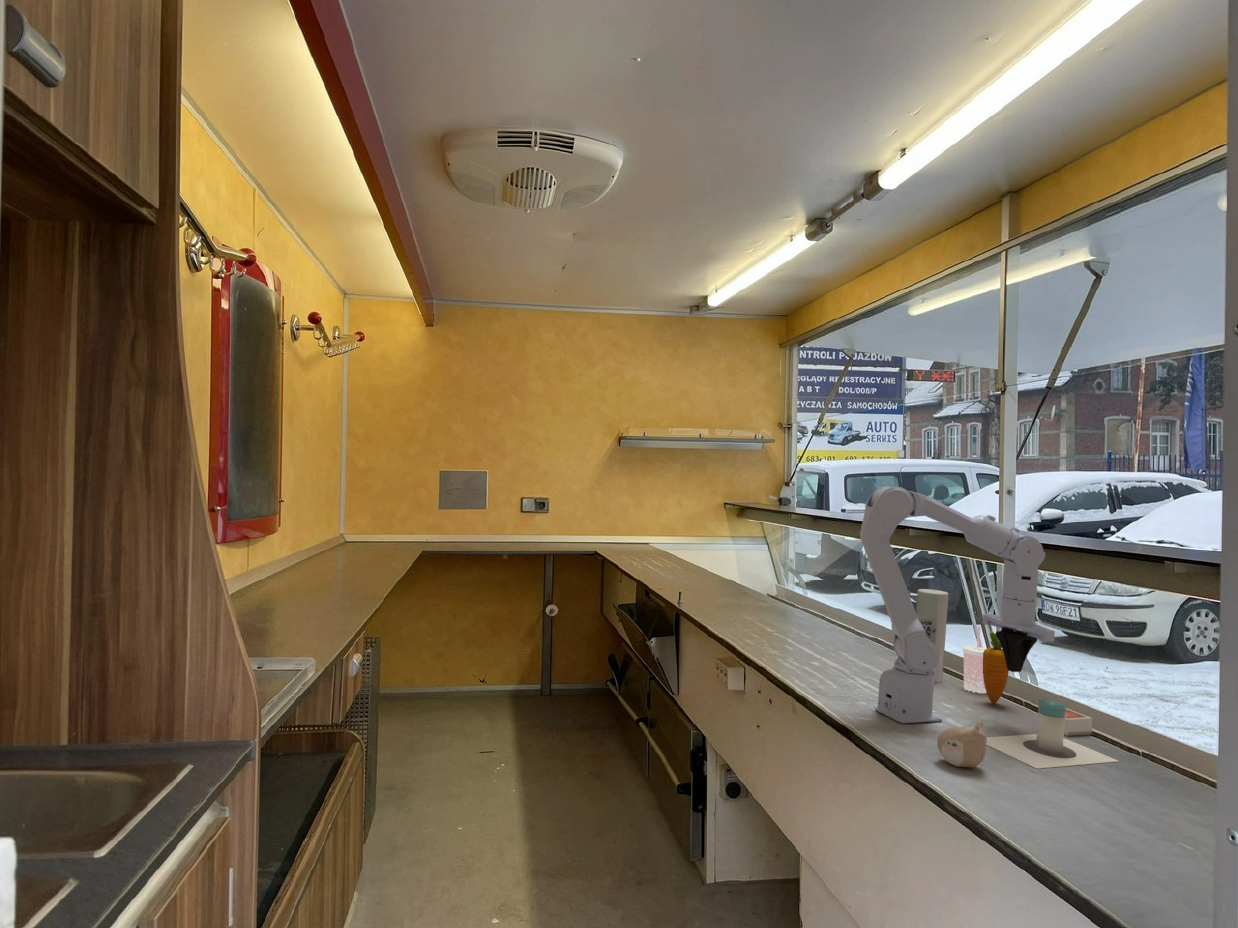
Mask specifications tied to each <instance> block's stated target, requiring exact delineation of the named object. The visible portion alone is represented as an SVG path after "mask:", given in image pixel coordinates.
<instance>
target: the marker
mask: <svg viewBox="0 0 1238 928" xmlns="http://www.w3.org/2000/svg"><path fill="white" fill-rule="evenodd" d="M1037 708H1038V709H1037V724H1036V725H1037V726H1036V734H1037V737H1036V747H1037V748H1038V749H1040V750H1043V751H1046V752H1051V753H1062V752H1063V739H1064V738H1065V735H1064V723H1065V708H1067V705H1066V703H1064V702H1063V701H1061V700H1055V699H1050V698H1040V699H1038V707H1037Z"/></svg>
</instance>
